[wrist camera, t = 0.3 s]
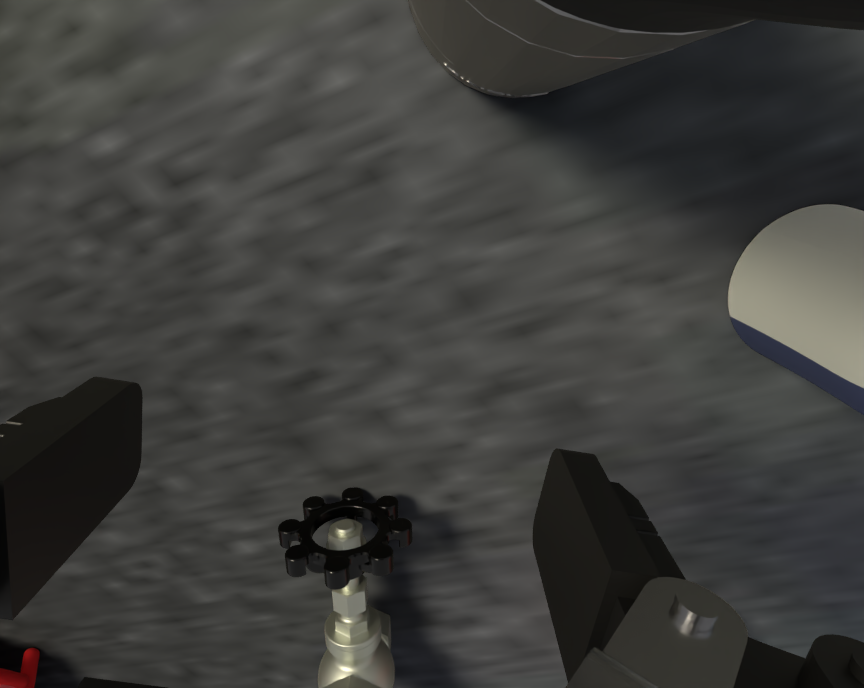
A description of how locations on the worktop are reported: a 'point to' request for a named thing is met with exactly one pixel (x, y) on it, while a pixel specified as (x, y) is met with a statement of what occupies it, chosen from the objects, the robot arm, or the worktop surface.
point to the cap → (22, 672)
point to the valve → (349, 583)
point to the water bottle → (807, 297)
